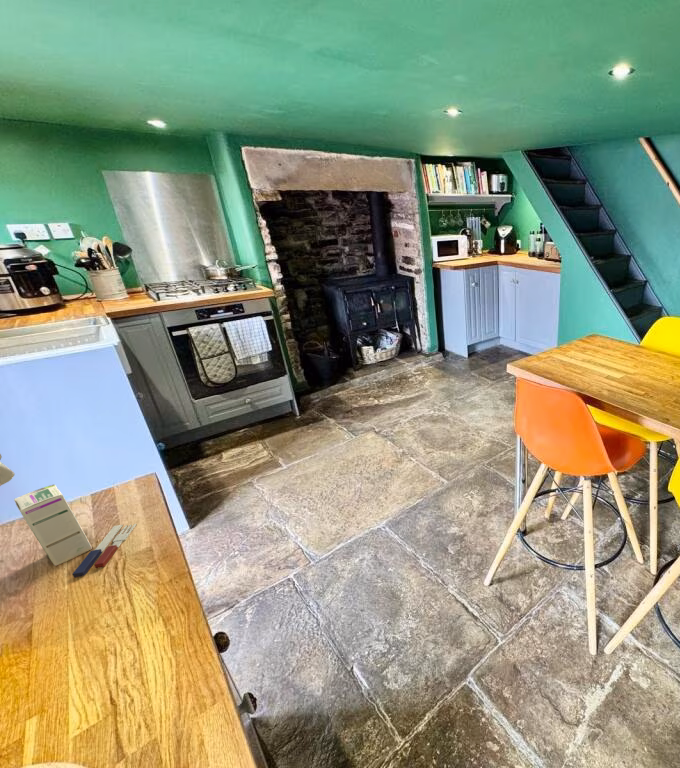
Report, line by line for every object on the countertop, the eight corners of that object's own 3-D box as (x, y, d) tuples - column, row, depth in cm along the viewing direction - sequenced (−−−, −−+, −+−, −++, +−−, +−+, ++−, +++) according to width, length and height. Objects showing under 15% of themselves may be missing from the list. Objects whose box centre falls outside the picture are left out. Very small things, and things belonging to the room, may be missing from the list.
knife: (74, 577, 77) (72, 574, 77) (114, 527, 89) (112, 523, 89) (84, 575, 78) (82, 572, 77) (123, 525, 90) (121, 522, 89)
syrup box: (93, 548, 84) (64, 492, 78) (53, 568, 79) (19, 510, 73) (84, 537, 86) (56, 482, 80) (45, 555, 82) (11, 498, 76)
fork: (93, 569, 79) (91, 565, 79) (125, 526, 89) (123, 523, 89) (107, 566, 80) (105, 562, 79) (137, 524, 90) (135, 521, 90)
